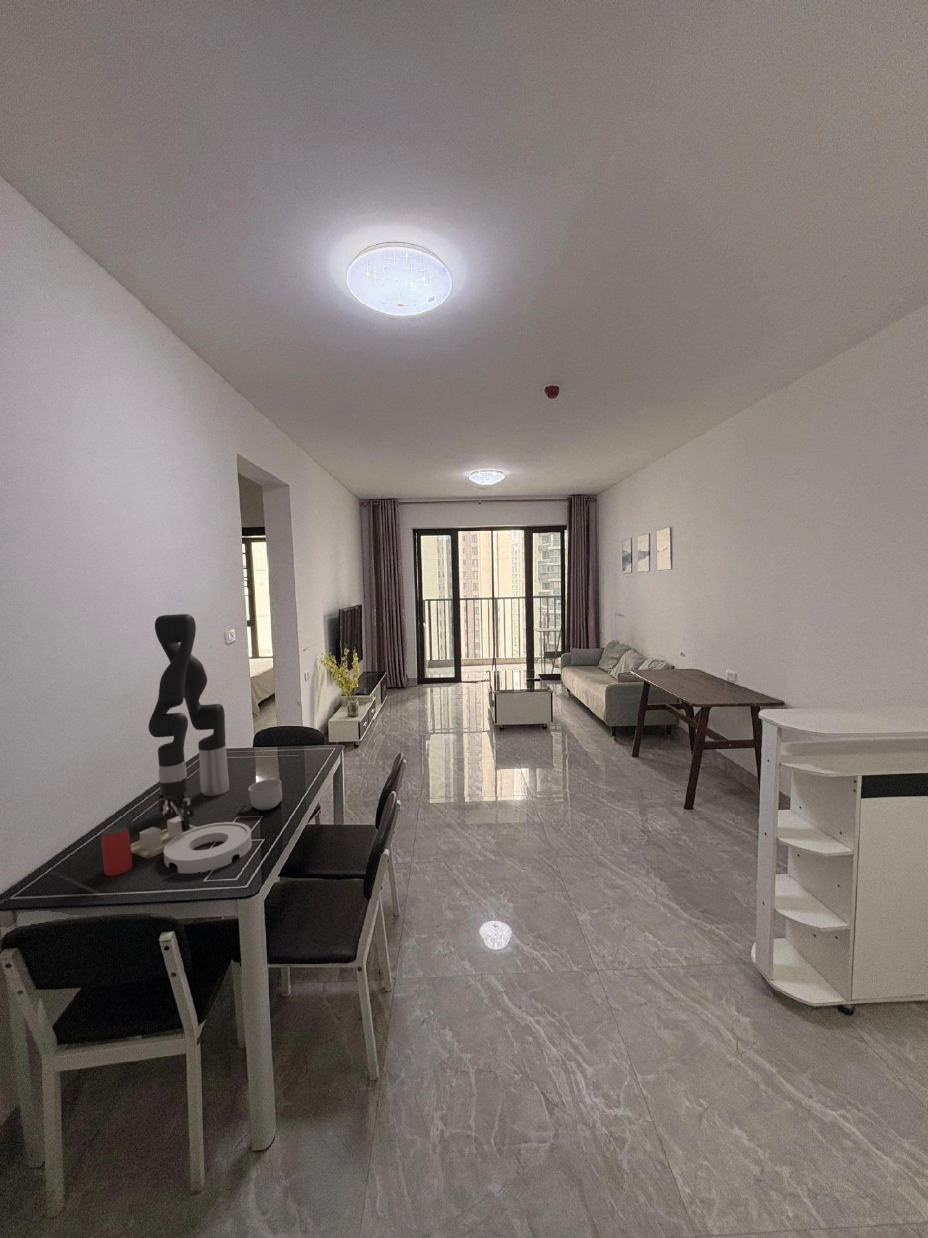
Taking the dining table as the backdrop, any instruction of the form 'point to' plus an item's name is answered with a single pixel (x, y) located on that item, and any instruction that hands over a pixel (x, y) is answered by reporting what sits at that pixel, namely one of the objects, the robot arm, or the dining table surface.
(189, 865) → the ashtray
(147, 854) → the tray
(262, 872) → the dining table surface
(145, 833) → the stone block
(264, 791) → the teacup
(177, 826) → the stone block
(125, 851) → the beer can
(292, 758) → the dining table surface
